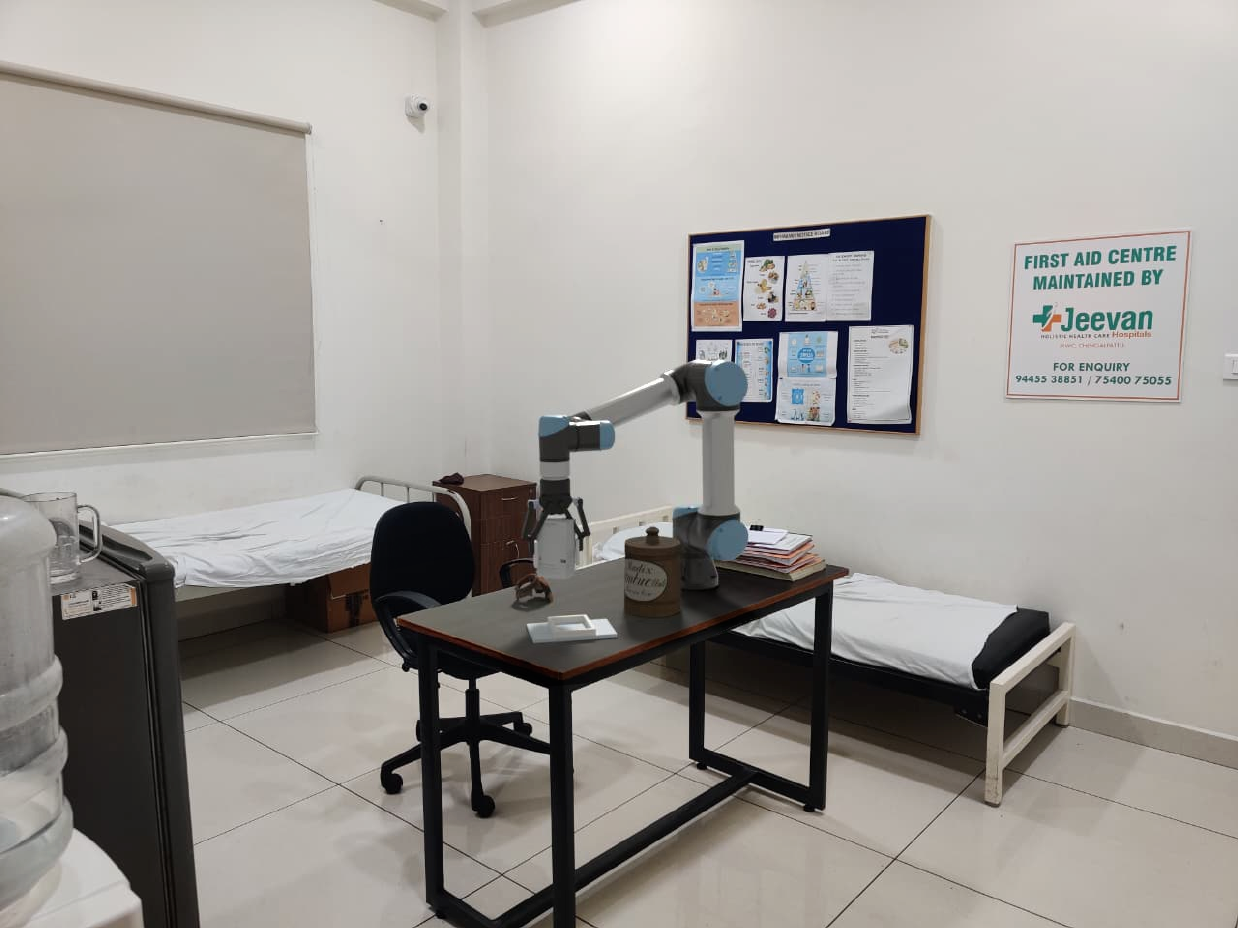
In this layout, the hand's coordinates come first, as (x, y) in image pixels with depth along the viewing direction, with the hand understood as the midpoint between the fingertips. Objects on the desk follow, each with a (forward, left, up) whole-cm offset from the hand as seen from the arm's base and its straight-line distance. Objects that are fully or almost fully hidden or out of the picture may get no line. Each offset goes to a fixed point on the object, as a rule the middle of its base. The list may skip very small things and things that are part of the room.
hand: (556, 565), depth 223 cm
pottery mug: (+3, -17, -14) cm, 22 cm away
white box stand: (-2, +12, -14) cm, 18 cm away
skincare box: (0, 0, -3) cm, 3 cm away
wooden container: (-26, -2, -14) cm, 29 cm away
